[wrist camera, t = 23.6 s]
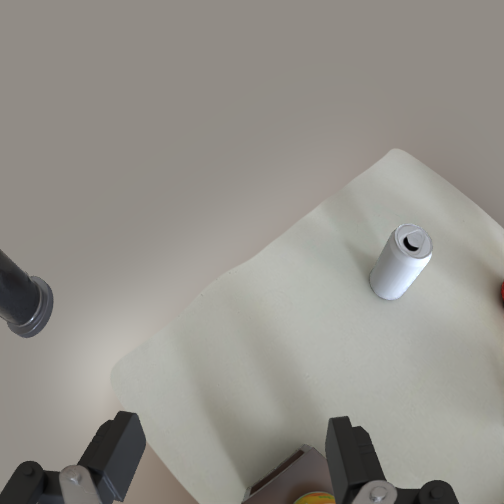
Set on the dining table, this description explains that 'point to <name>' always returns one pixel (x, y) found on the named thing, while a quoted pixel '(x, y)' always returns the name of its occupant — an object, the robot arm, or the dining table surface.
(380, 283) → the beverage can
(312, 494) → the supplement bottle
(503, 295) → the apple
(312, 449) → the shelf
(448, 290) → the dining table surface
